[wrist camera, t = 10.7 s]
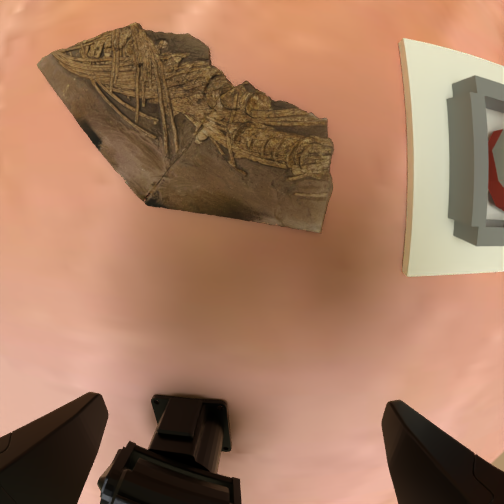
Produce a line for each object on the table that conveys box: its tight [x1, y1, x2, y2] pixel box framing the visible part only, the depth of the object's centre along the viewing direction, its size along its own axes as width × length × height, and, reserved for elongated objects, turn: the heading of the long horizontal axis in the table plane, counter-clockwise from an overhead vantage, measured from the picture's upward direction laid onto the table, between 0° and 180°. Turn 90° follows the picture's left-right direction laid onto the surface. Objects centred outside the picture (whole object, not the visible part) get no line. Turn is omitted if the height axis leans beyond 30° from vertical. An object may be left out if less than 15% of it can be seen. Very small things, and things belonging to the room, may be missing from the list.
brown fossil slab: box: [37, 22, 334, 233], centre depth 18 cm, size 26×11×1 cm, turn 55°
